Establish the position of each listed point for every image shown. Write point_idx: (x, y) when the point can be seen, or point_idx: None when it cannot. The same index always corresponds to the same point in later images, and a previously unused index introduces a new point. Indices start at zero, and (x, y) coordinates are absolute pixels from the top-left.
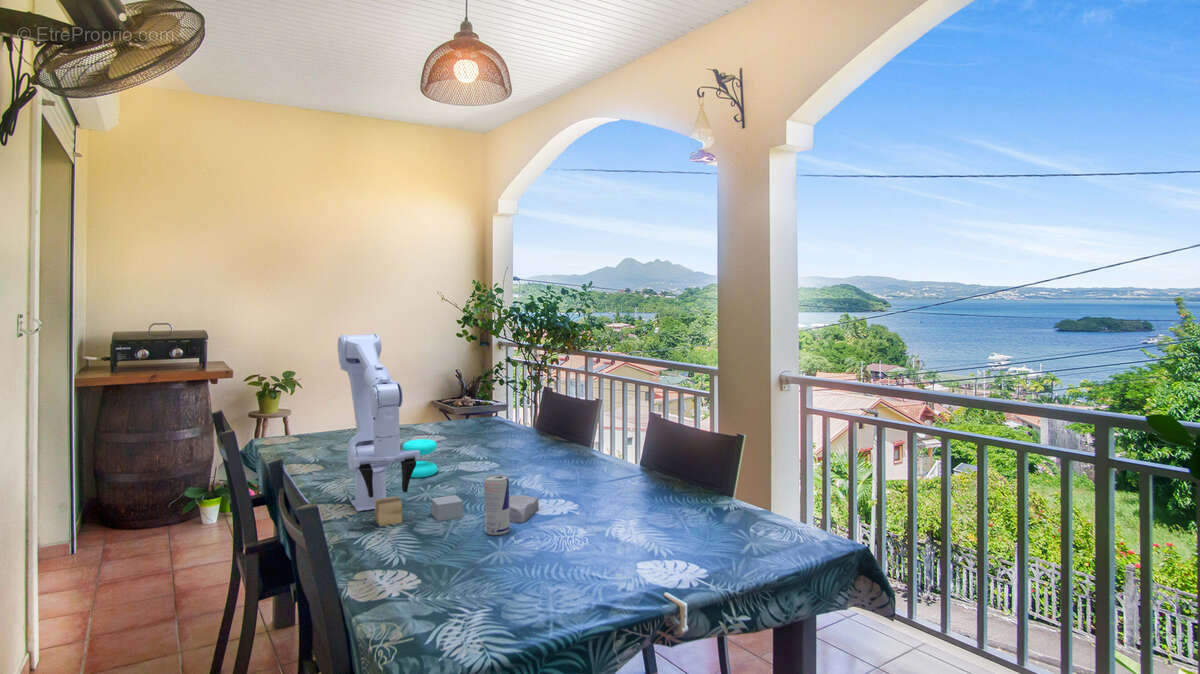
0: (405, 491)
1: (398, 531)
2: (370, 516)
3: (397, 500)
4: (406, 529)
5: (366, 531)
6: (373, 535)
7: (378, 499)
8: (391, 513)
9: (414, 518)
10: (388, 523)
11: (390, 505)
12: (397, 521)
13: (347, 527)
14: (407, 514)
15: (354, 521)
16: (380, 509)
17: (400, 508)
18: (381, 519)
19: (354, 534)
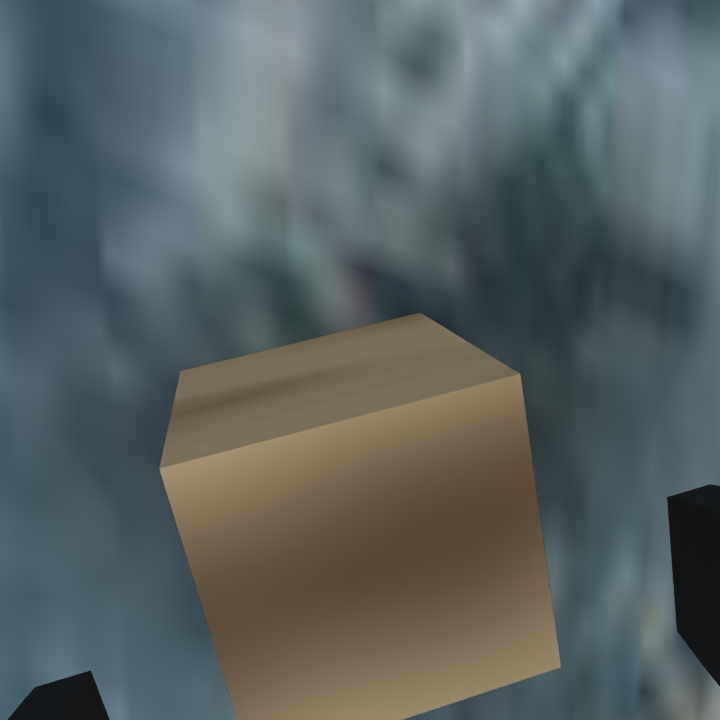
0: (62, 686)
1: (213, 45)
2: None
3: (233, 553)
4: (115, 87)
5: (551, 191)
6: (490, 13)
7: (511, 668)
8: (311, 378)
9: (37, 485)
10: (331, 339)
11: (341, 408)
12: (232, 364)
13: (700, 384)
14: (129, 640)
15: (632, 541)
16: (475, 361)
17: (187, 425)
18: (421, 334)
19: (662, 135)
